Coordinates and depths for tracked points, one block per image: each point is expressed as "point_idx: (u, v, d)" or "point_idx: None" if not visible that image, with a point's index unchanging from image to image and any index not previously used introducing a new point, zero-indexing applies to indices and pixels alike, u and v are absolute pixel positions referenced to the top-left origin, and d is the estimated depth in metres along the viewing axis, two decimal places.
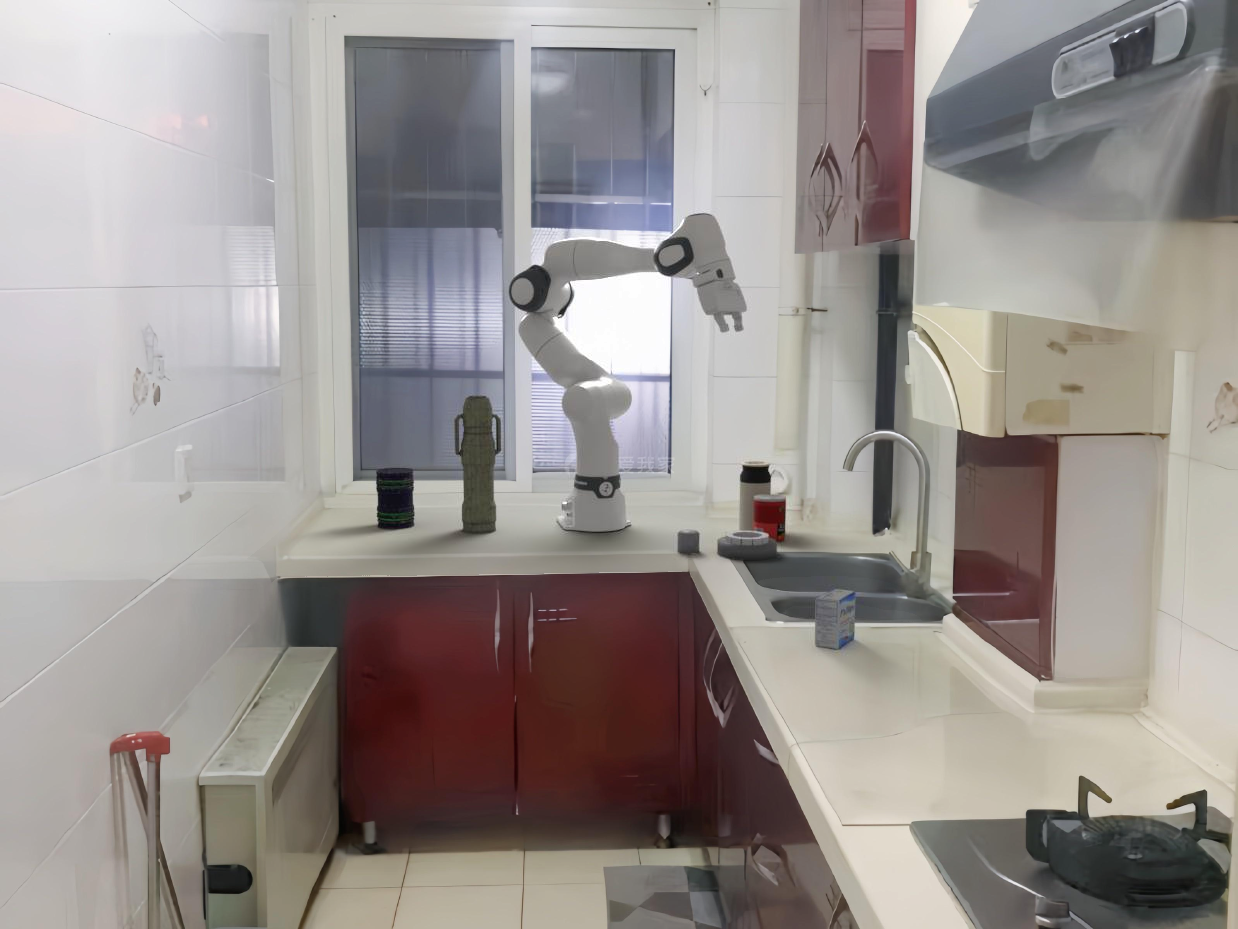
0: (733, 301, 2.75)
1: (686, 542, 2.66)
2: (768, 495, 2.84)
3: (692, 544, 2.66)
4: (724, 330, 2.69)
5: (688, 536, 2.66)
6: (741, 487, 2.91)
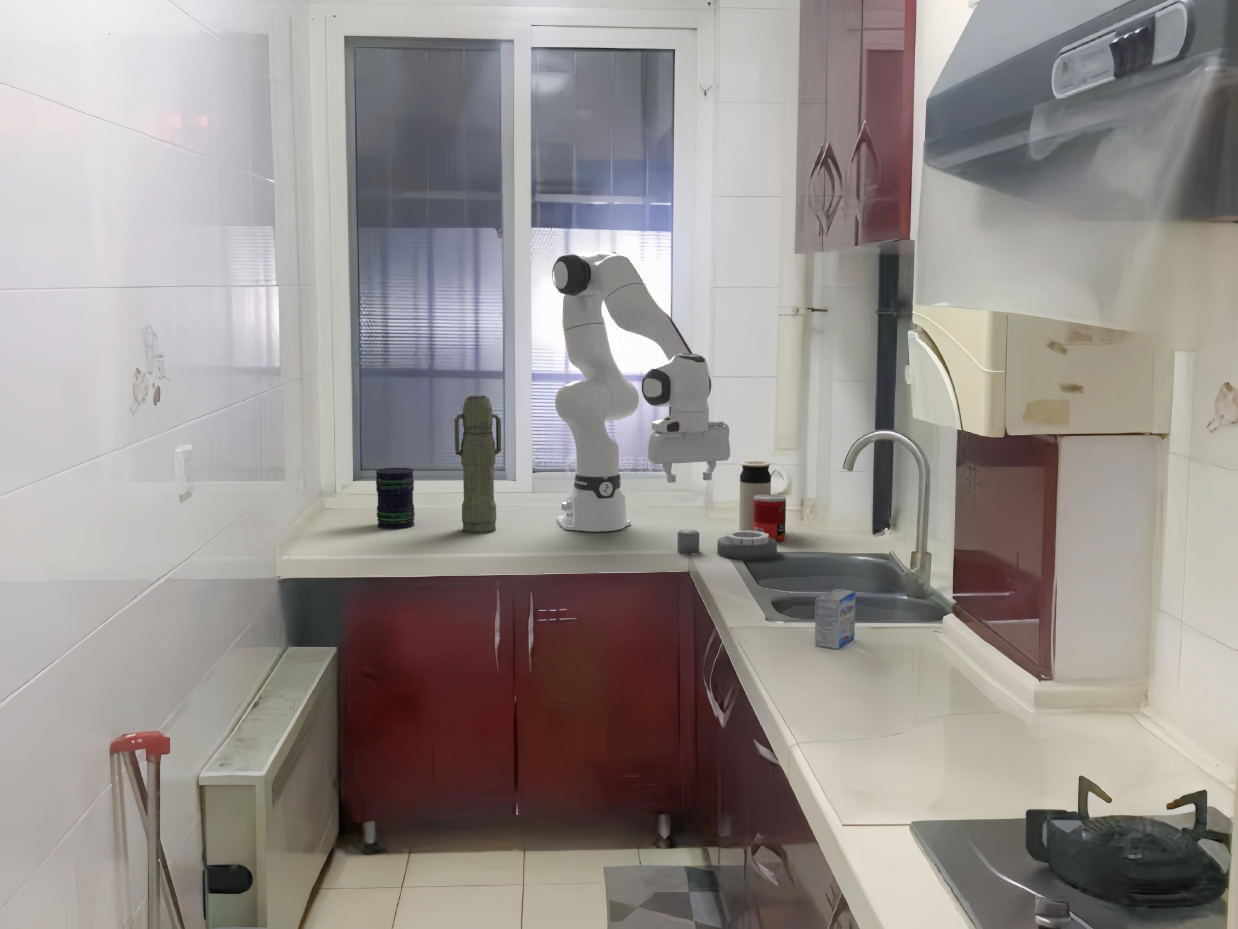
0: (699, 452, 2.64)
1: (686, 542, 2.66)
2: (768, 495, 2.84)
3: (692, 544, 2.66)
4: (668, 481, 2.64)
5: (688, 536, 2.66)
6: (741, 487, 2.91)
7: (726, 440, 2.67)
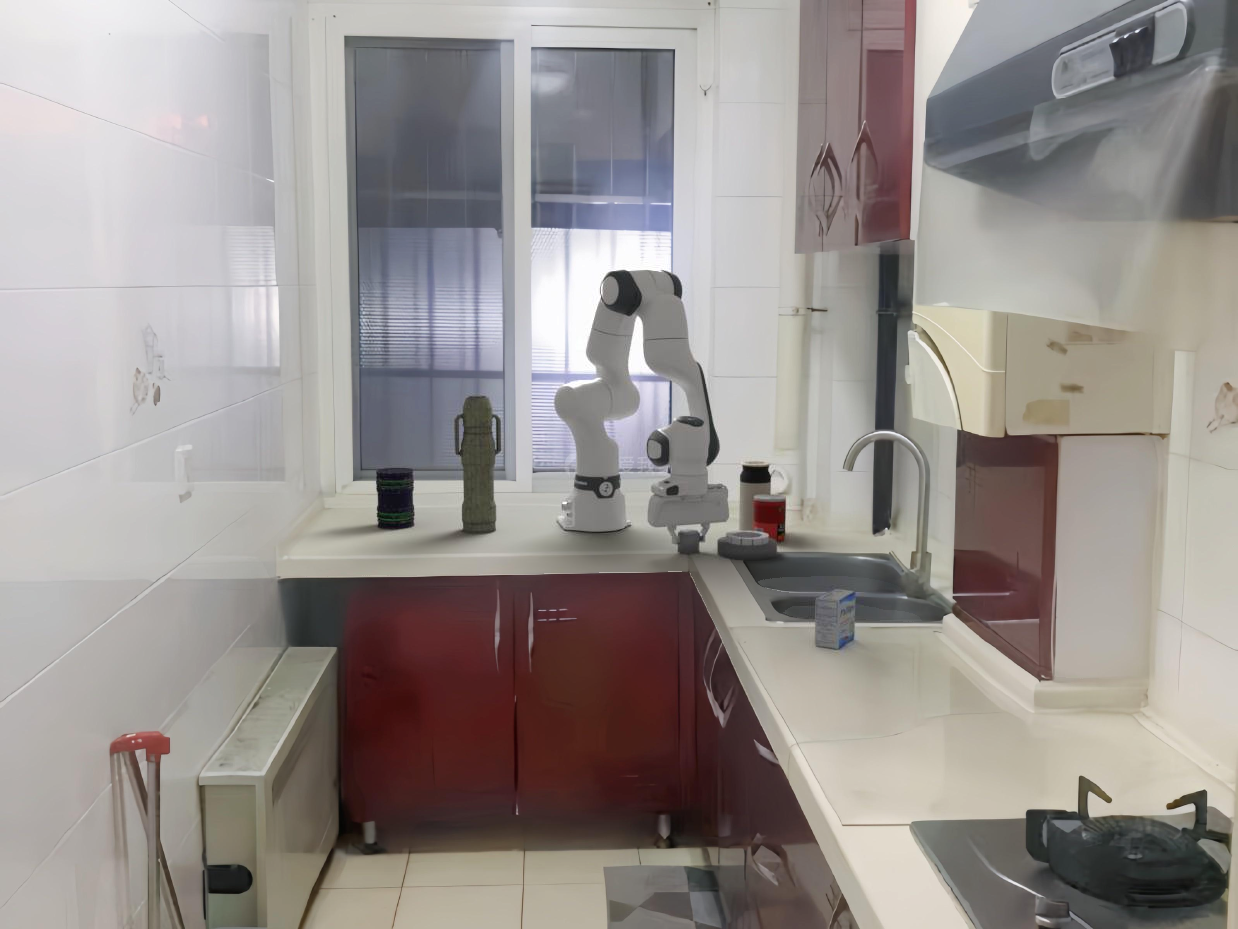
0: (698, 515, 2.66)
1: (686, 542, 2.66)
2: (768, 495, 2.84)
3: (692, 543, 2.66)
4: (673, 543, 2.67)
5: (688, 536, 2.66)
6: (741, 487, 2.91)
7: (725, 502, 2.69)
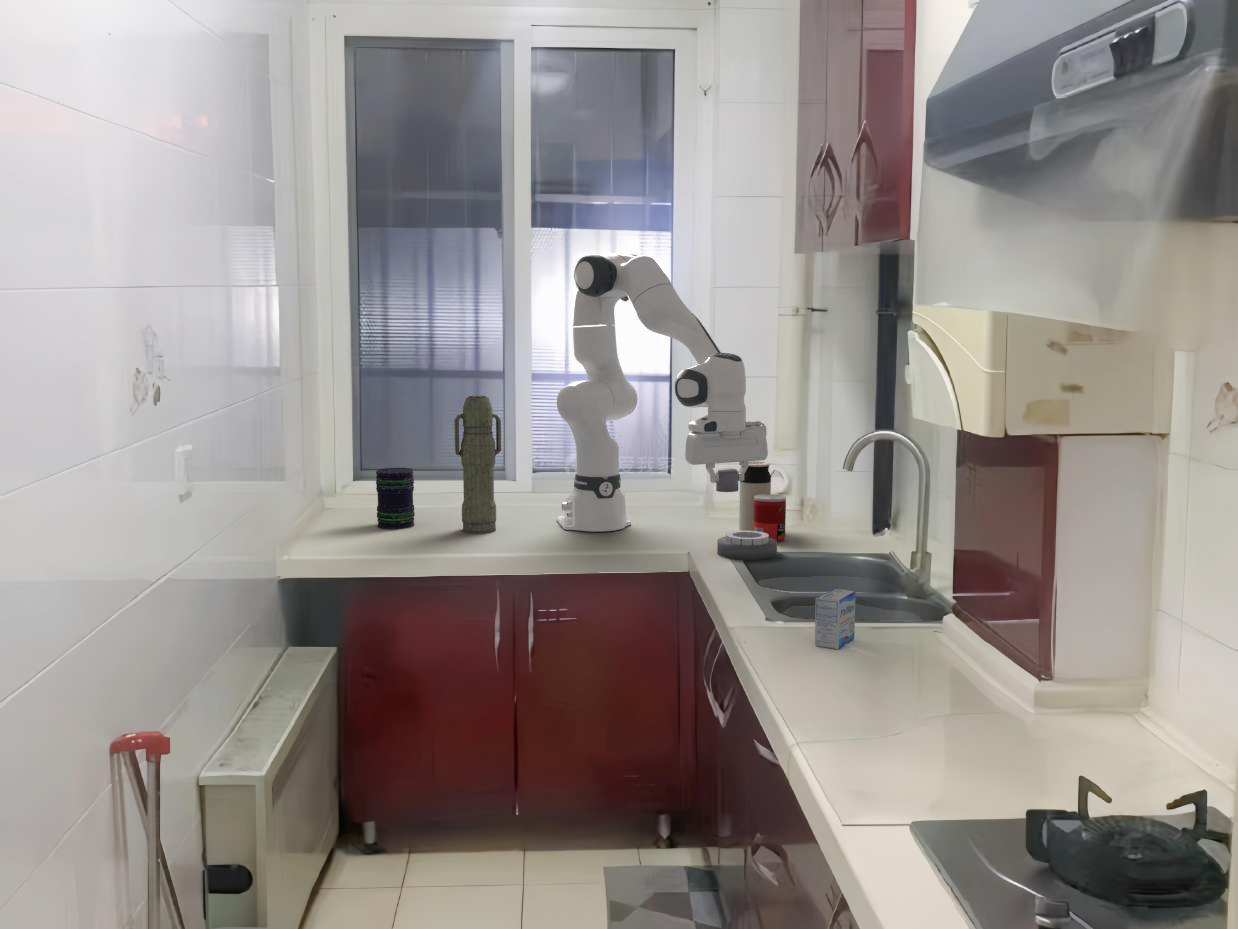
0: (736, 452, 2.63)
1: (725, 480, 2.62)
2: (768, 495, 2.84)
3: (731, 481, 2.62)
4: (712, 481, 2.63)
5: (727, 473, 2.62)
6: (741, 487, 2.91)
7: (763, 440, 2.65)
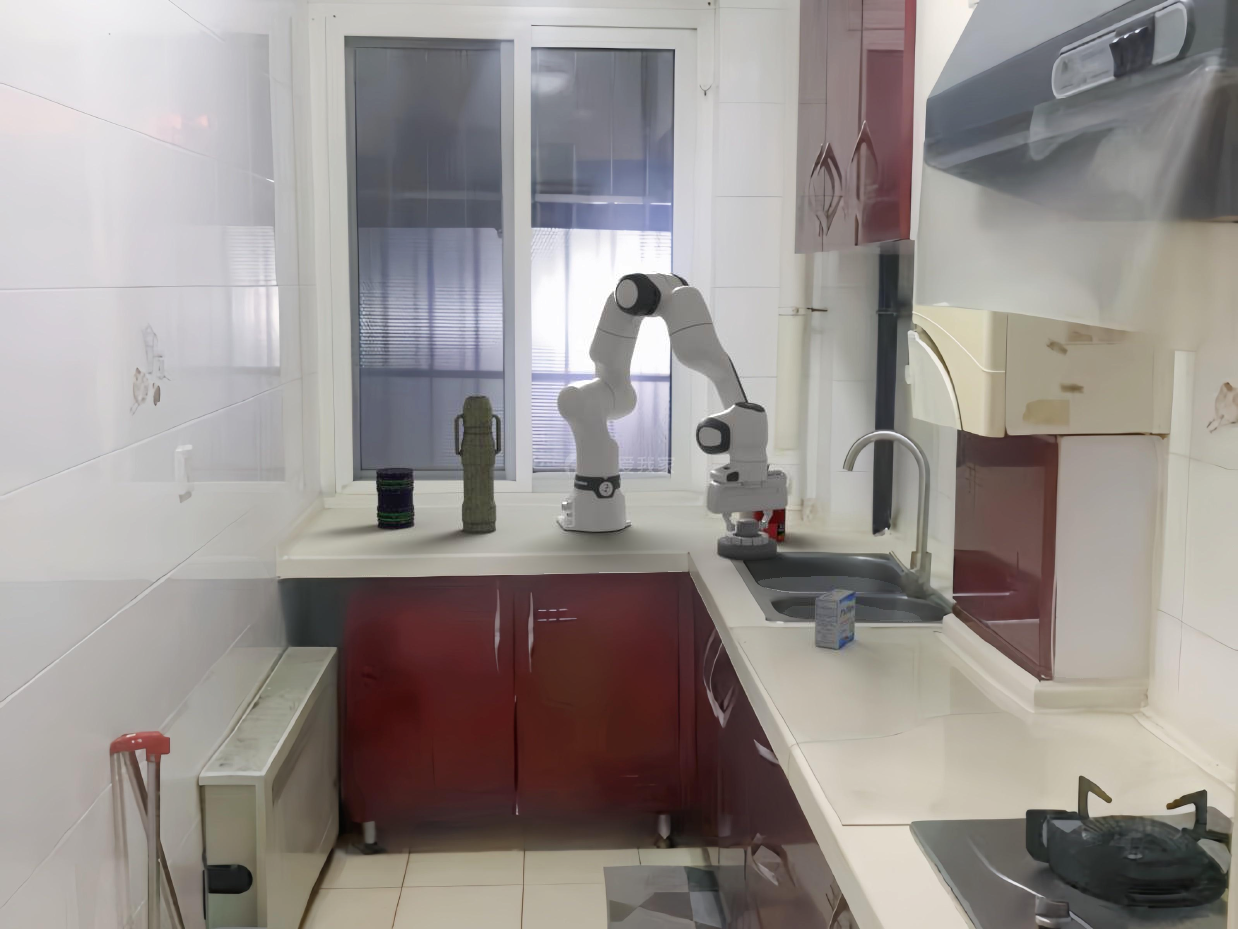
0: (757, 501, 2.64)
1: (745, 531, 2.64)
2: None
3: (752, 533, 2.64)
4: (728, 530, 2.64)
5: (748, 525, 2.63)
6: None
7: (784, 489, 2.67)
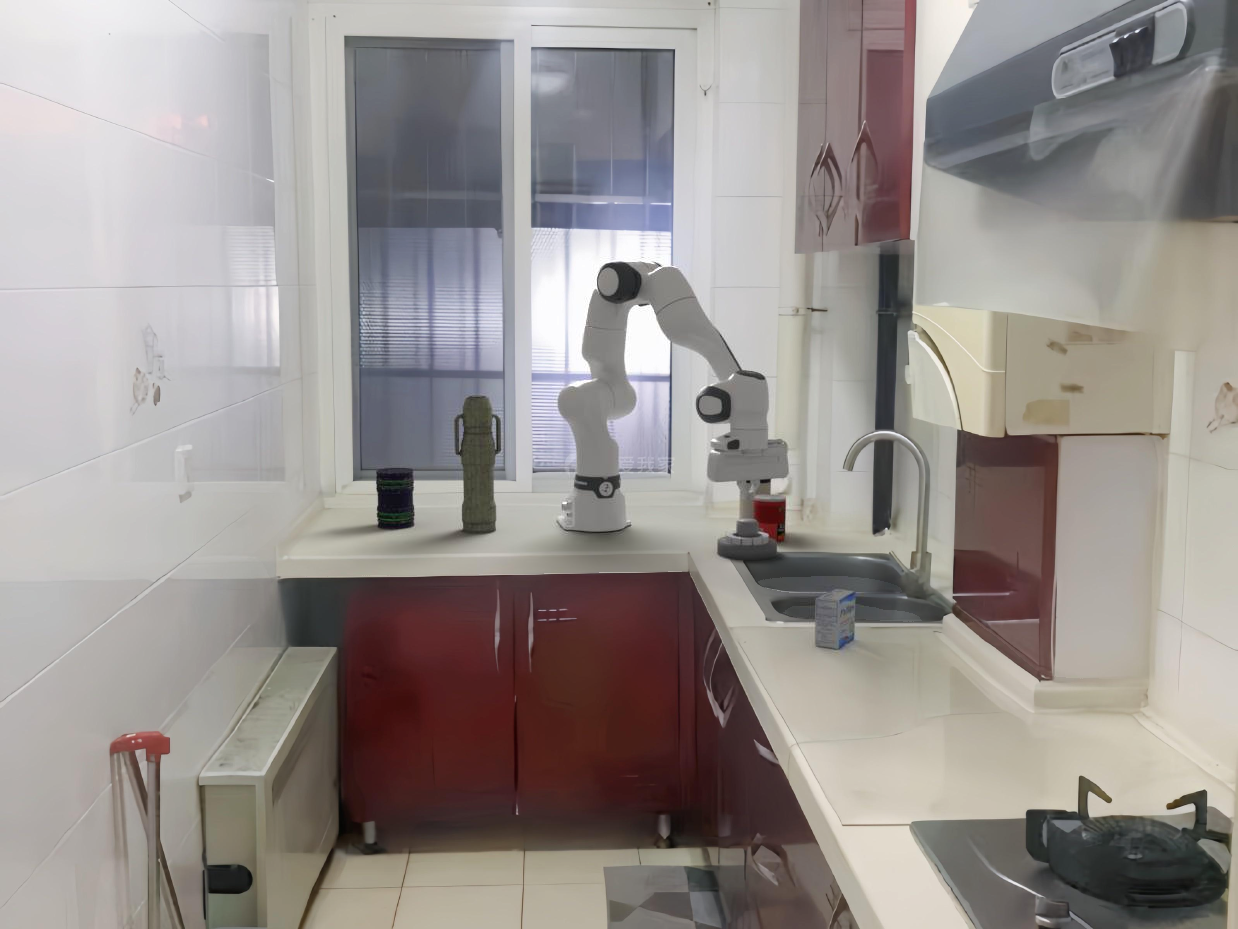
0: (758, 470, 2.63)
1: (745, 531, 2.64)
2: (768, 495, 2.84)
3: (752, 533, 2.64)
4: (742, 498, 2.64)
5: (748, 525, 2.63)
6: None
7: (785, 458, 2.66)
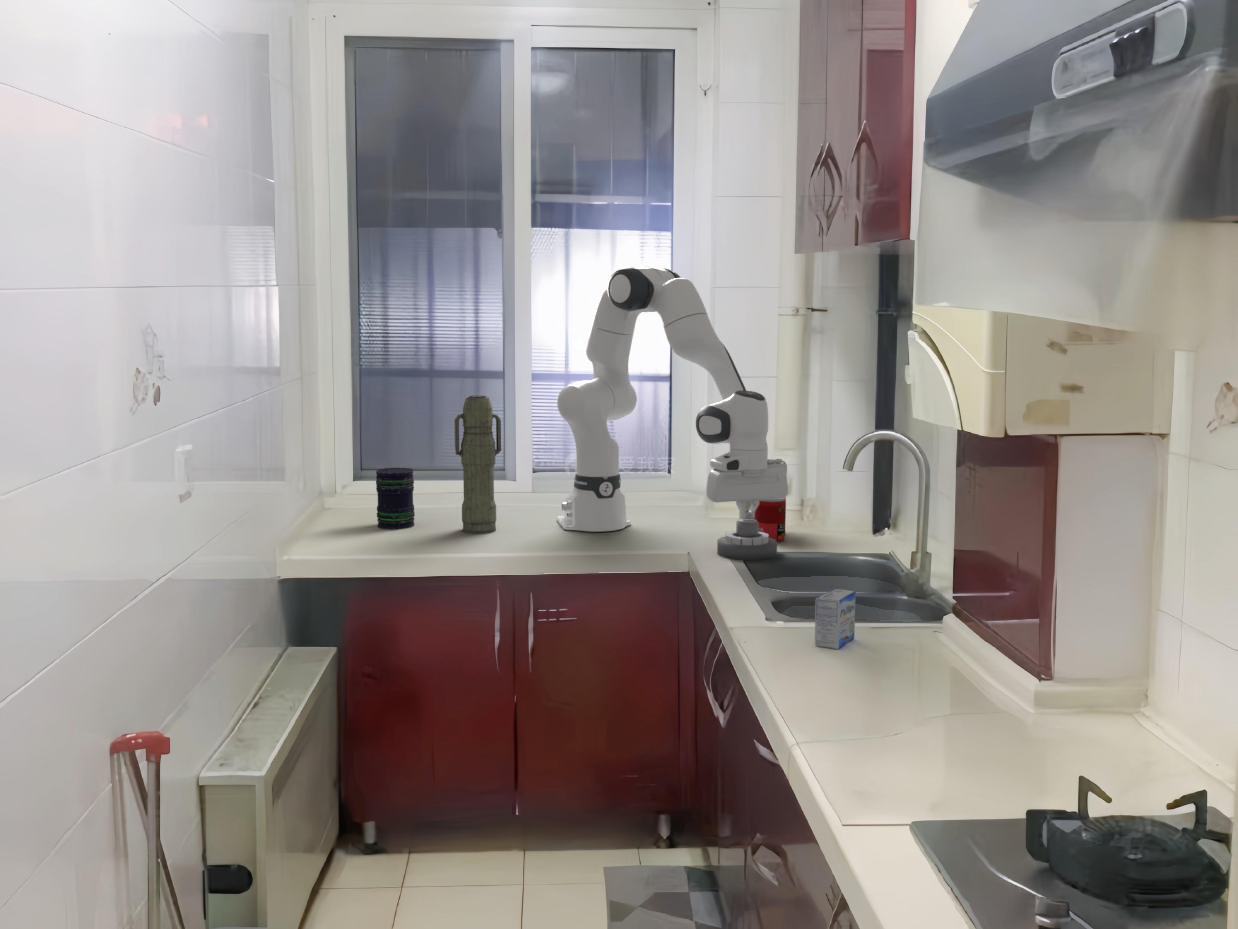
0: (757, 490, 2.64)
1: (745, 531, 2.64)
2: None
3: (752, 533, 2.64)
4: (742, 517, 2.65)
5: (748, 525, 2.63)
6: None
7: (784, 477, 2.66)
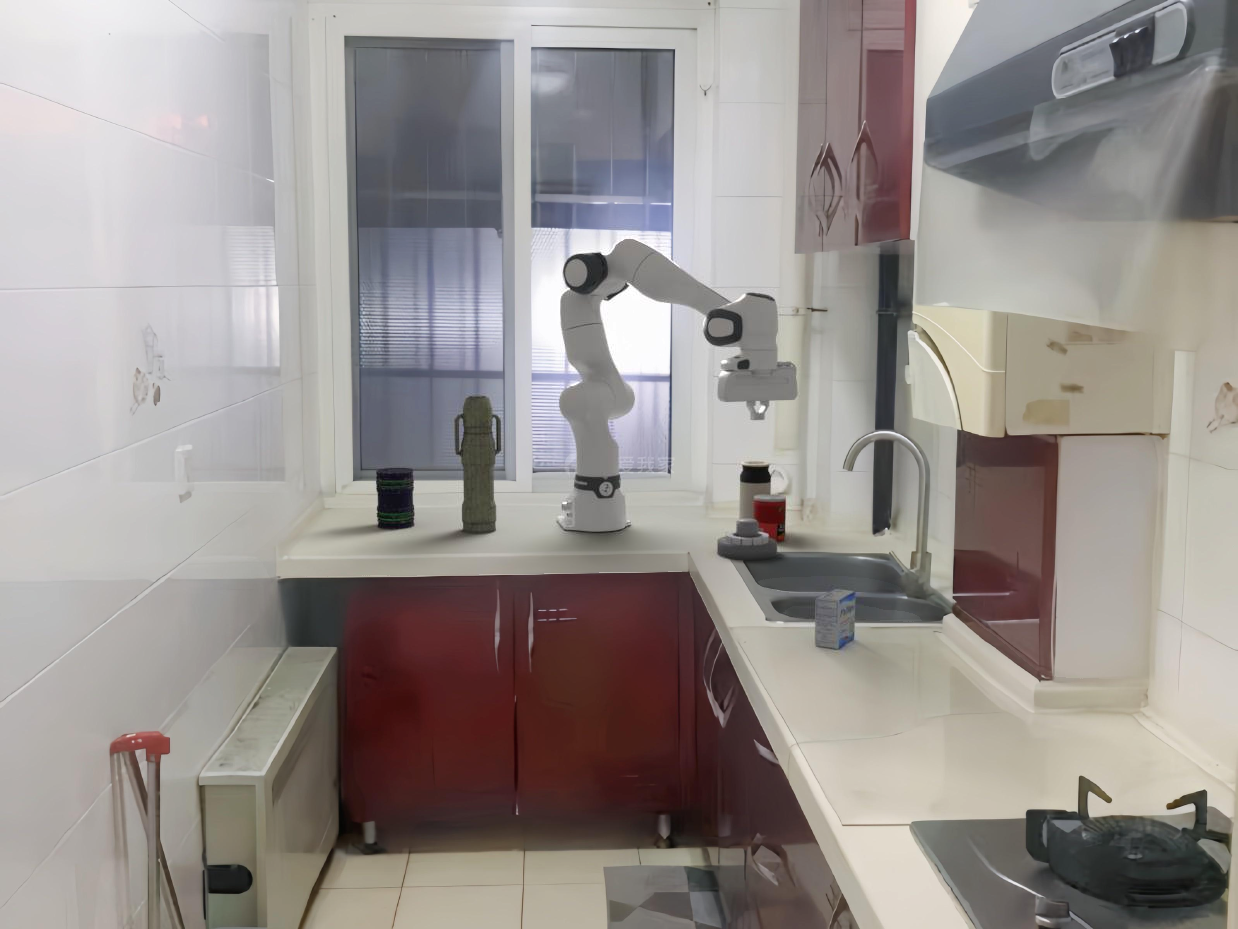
0: (767, 391, 2.67)
1: (745, 531, 2.64)
2: (768, 495, 2.84)
3: (752, 533, 2.64)
4: (752, 418, 2.68)
5: (748, 525, 2.63)
6: (741, 487, 2.91)
7: (794, 379, 2.70)
